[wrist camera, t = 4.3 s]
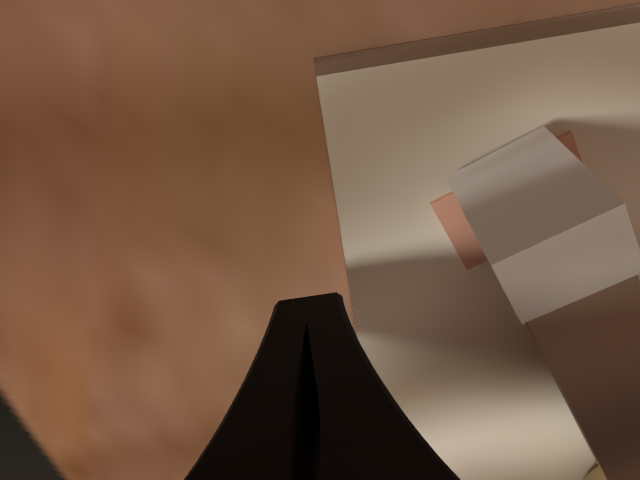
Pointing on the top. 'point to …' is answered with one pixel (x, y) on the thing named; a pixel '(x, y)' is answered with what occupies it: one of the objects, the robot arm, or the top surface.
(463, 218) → the thin salmon tile
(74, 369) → the top surface
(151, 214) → the top surface
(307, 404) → the robot arm
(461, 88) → the board
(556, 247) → the friction peg
